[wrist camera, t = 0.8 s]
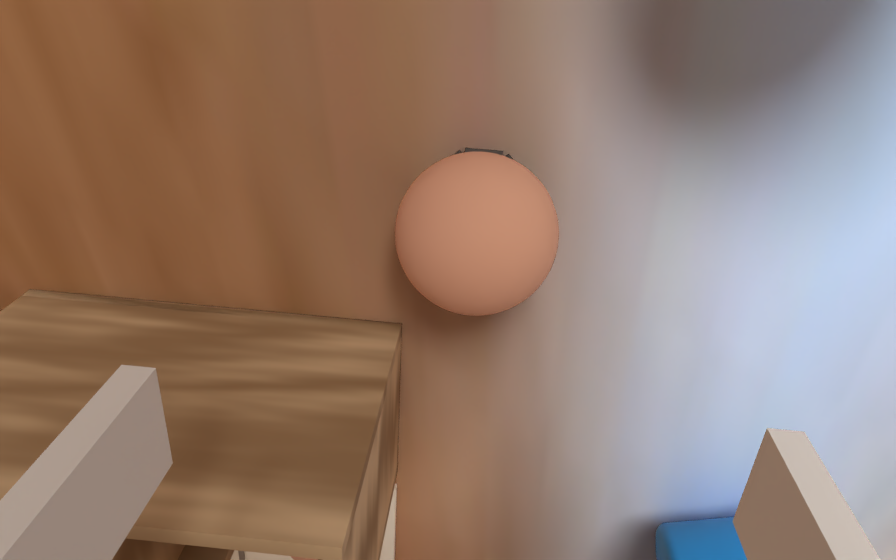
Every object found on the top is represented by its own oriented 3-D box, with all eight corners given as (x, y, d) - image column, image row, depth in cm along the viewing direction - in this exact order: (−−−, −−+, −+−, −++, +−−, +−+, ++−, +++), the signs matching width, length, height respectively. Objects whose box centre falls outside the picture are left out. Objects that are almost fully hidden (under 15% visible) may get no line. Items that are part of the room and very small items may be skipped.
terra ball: (408, 125, 26) (383, 176, 20) (563, 138, 25) (578, 192, 20) (404, 263, 28) (381, 339, 23) (543, 275, 28) (552, 355, 23)
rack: (29, 289, 31) (-233, 486, 20) (401, 323, 31) (341, 548, 19) (70, 438, 36) (-127, 667, 25) (397, 471, 35) (346, 723, 24)
